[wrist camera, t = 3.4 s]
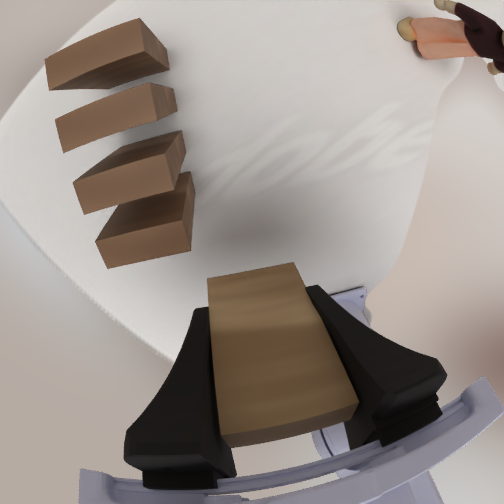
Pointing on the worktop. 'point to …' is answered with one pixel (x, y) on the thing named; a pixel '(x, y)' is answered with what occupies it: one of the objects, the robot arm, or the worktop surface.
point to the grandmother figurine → (457, 35)
